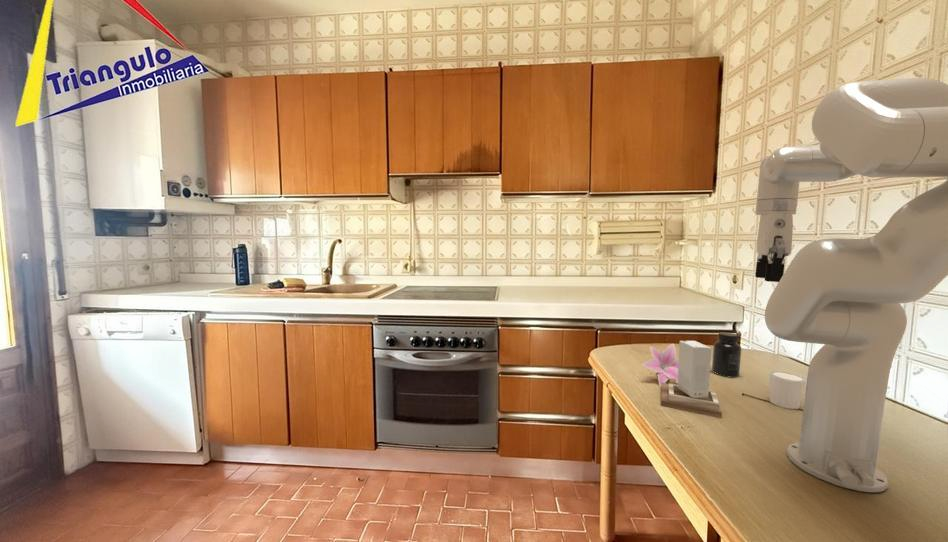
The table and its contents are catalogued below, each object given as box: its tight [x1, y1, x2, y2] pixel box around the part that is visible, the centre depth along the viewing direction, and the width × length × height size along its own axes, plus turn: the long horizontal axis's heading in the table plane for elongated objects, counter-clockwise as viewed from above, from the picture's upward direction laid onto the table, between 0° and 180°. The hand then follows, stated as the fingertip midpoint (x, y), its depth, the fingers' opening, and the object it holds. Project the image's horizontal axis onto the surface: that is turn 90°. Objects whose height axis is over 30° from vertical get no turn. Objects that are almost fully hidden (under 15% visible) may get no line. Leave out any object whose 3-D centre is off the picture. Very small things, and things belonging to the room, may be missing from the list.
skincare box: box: [677, 340, 712, 398], centre depth 88 cm, size 6×4×12 cm
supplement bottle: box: [711, 331, 742, 378], centre depth 109 cm, size 7×7×12 cm
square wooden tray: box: [660, 378, 723, 419], centre depth 90 cm, size 12×12×3 cm
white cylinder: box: [769, 371, 807, 410], centre depth 90 cm, size 7×7×7 cm
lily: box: [642, 343, 679, 387], centre depth 103 cm, size 12×12×10 cm
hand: (768, 279), depth 89 cm, fingers open, 9 cm apart
